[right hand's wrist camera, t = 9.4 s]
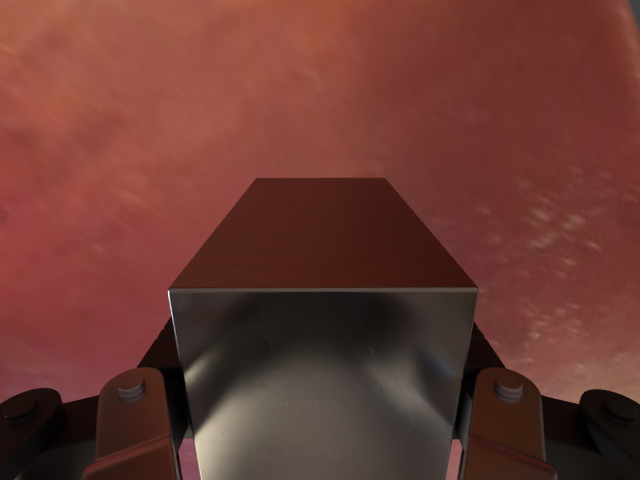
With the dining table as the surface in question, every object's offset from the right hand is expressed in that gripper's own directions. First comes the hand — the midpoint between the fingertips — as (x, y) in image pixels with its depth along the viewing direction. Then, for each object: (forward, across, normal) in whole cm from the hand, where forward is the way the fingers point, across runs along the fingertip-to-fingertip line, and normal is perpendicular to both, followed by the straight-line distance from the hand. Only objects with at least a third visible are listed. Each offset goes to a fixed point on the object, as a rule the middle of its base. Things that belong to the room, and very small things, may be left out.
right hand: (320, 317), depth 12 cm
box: (+7, 0, +10) cm, 12 cm away
